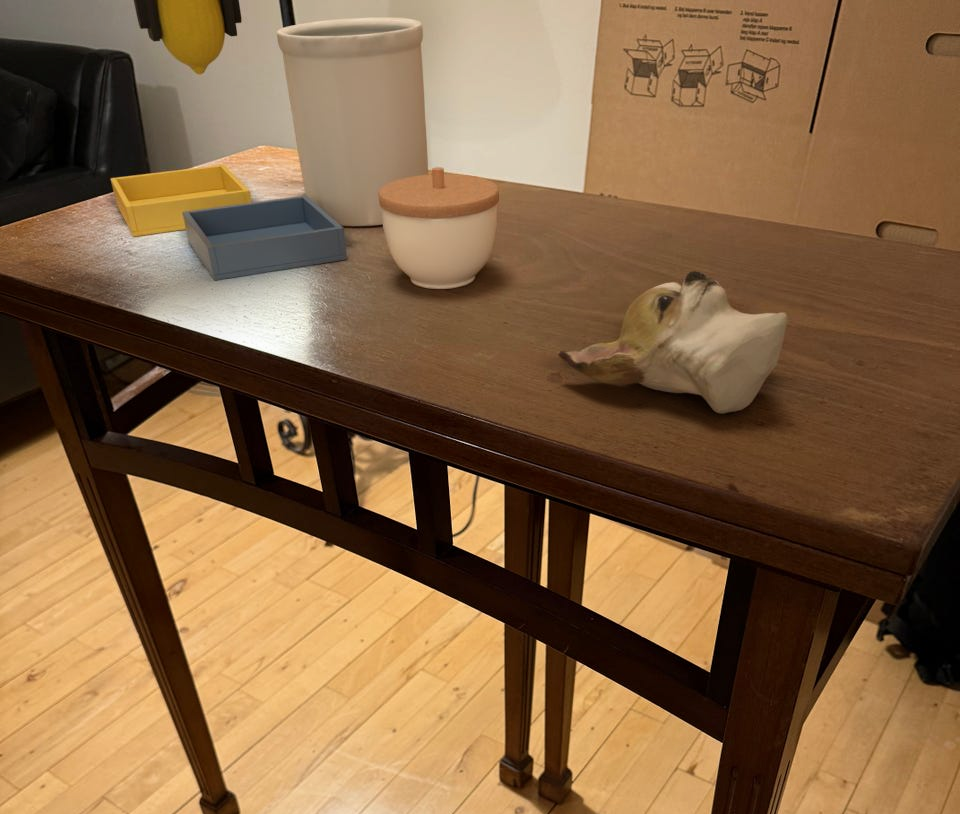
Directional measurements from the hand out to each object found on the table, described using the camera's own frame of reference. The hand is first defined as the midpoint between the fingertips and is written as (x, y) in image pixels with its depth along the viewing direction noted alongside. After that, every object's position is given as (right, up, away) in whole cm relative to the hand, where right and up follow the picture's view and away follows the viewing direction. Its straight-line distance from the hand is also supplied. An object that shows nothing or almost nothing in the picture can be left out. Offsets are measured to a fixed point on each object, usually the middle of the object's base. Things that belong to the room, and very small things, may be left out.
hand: (192, 34), depth 77 cm
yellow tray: (-10, -2, +27) cm, 29 cm away
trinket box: (+21, -17, +9) cm, 28 cm away
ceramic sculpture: (+39, -33, -10) cm, 52 cm away
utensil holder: (+11, -2, +27) cm, 29 cm away
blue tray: (+2, -11, +16) cm, 20 cm away
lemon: (0, -2, +2) cm, 3 cm away
